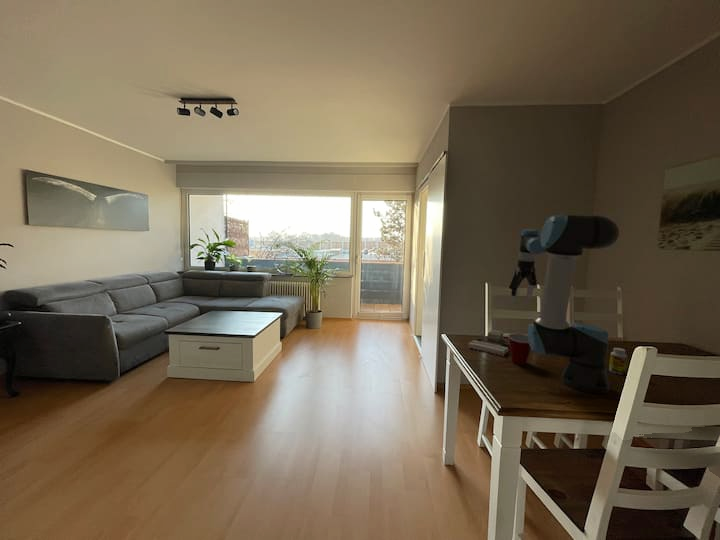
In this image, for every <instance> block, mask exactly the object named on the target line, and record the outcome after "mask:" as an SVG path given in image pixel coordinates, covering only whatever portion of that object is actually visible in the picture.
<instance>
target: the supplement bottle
mask: <svg viewBox="0 0 720 540" xmlns="http://www.w3.org/2000/svg"><path fill="white" fill-rule="evenodd" d="M627 362H628V355H627V354H626V349H624V348H620V347H613V351H611V352H610V357H609V365H608V370H609V371H610V372H611V373H612V374H613V373H614V374H616V373H617V375H624V374H623V373H625V374H626V370H627Z"/></svg>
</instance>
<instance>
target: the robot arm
mask: <svg viewBox="0 0 720 540" xmlns="http://www.w3.org/2000/svg"><path fill="white" fill-rule="evenodd" d="M539 234H540V236H539ZM619 236H620V229H619V227H618V224H616V222H615V221H613V220H612V219H610V218H608V217H606V216H603V215H602V216H601V215H576V214H575V215H574V214H573V215H572V214H571V215H569V214H562V215H561V214H558V215H552V216H550V217H548V218H547V220H546V221H545V223H544V225H543V227H542V230H541V233H540V232H539V230H537V229H533V228H532V229H527V228H525V229H523V230H522V231H521V235H520V245H519V253H518V261H517V267H518V268H519V270H515V271H514V275H513V277H512V279H511V281H510V285H509V287H508V288H509V289H510V290H511V296H510V301H511V302H513V303H517V301H518V293H519V290H518V289H519V286H521V285H520V284H521V283H522V282H523V280H525V279H526V280H527V282H528V284H527V290H526V297H528V298H533V293H534V286H537V284H538V281H537V276H536V267H535V262H536V255H540V254H546V255H547V256H548V258H547V259H548V260H547V266H546V270H545V271H546V272H545V279H544V285H543V293H542V298H541V306H540V311H539V315H537V316H536V317H535V318H534V322H531V323H528V325H527V336H528V341H529V345H530V351H531V352H533V354H537V355H538V354H539V355H544V356H553V357H554V356H555V357H565V358H568V361H567V364H566V366H565V368H564V369H563V371H562V373H561V382H562V383H563V384H564V385H566V386H568V387H569V388H571V389H575V390H578V391H580V392H583V393H584V392H585V393H591V394H595V393H596V394H598V393H605V394H608V393H609V392H610V382H609V378H608V375H607V371H606V366H607V365H606V364H607V358H608V348H609V343H610V342H609V333H608V331H606V330H604V329H602V328H600V327H597V326H595V325H591V324H585V323H581V322H572V323H571V325H570V324H569V322H568V321H567V313H568V307H569V302H570V296H571V291H572V290H571V289H572V285H573V279H574V278H573V277H574V274H575V266H576V262H577V259H578V258H580V257H581V256H582V255H583V250H599V249H606V248H608V247H609V248H610V247H611V246H613V245H614V244H615V243H616V242H617V240H618V239H619ZM607 392H608V393H607Z"/></svg>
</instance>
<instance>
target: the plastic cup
mask: <svg viewBox="0 0 720 540" xmlns="http://www.w3.org/2000/svg"><path fill="white" fill-rule="evenodd" d="M507 338H508V341H509V342H510V355H511V356H510V357H511V362H512V363H513V364H516V365H519V366H520V365H522V366H525V365H526V364H527V362H528V357H529V355H530V351H531V348H530V345H529V341H528V334H527V335H526V334H523V333H509V334H508V335H507ZM524 364H525V365H524Z"/></svg>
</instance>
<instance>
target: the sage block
mask: <svg viewBox="0 0 720 540" xmlns="http://www.w3.org/2000/svg"><path fill="white" fill-rule="evenodd" d="M487 336H488V339H487V340H489V341H494V342H498V343H500V342H501V341H502V340H504V332H503V331H499V330H493V329H492V330H490V331H488V332H487Z"/></svg>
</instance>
